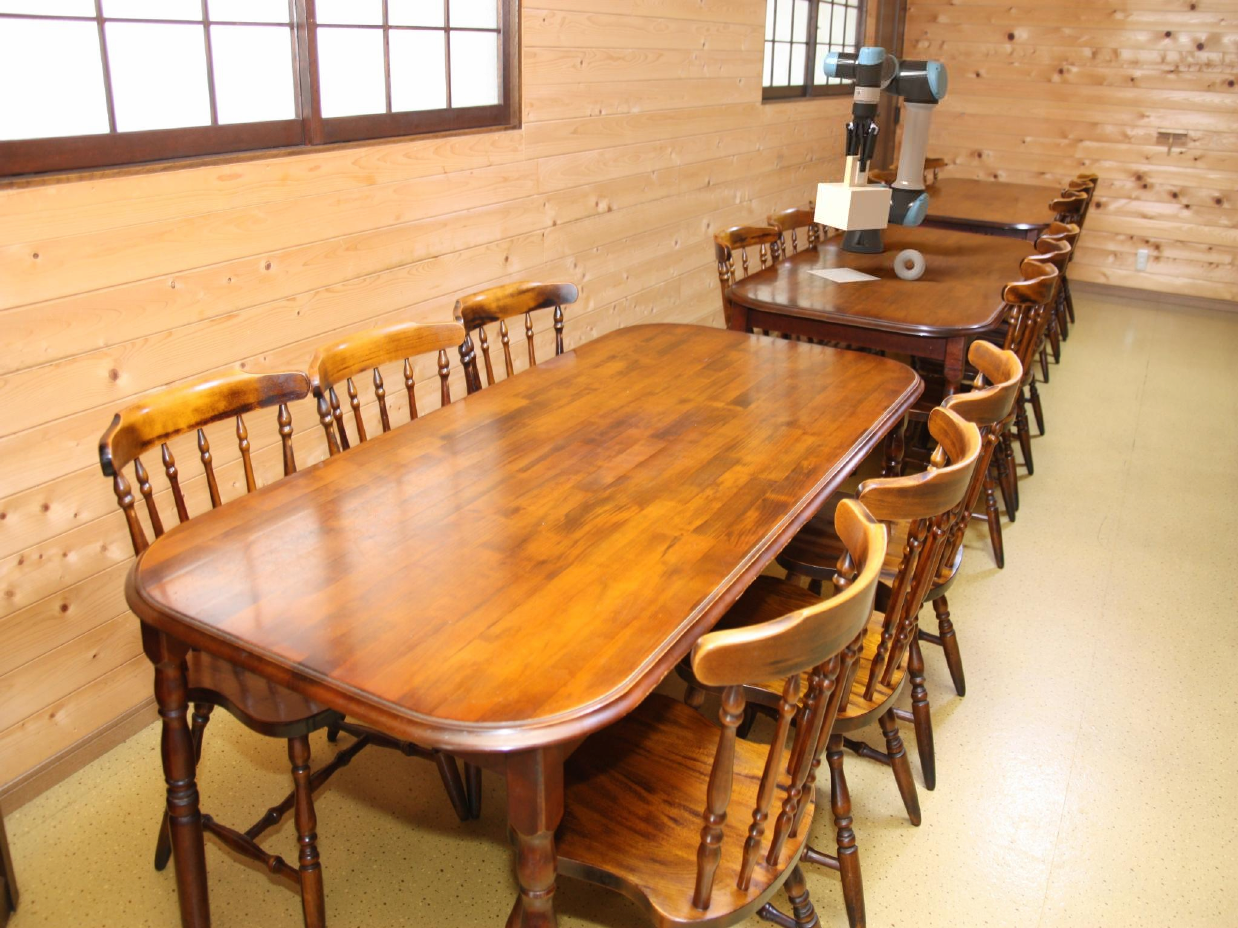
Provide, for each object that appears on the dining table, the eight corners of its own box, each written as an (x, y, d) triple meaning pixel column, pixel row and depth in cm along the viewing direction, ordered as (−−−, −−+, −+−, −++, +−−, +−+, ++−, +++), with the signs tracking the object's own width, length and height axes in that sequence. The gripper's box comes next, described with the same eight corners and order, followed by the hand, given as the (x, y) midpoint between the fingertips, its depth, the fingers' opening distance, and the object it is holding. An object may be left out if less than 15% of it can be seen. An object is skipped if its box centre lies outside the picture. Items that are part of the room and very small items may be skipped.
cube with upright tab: (813, 221, 327) (821, 153, 319) (853, 219, 334) (862, 152, 326) (846, 230, 314) (855, 159, 306) (886, 228, 321) (896, 159, 313)
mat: (805, 272, 333) (805, 270, 333) (846, 269, 341) (847, 267, 341) (839, 284, 320) (839, 282, 320) (881, 280, 327) (881, 278, 327)
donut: (890, 279, 330) (894, 247, 326) (893, 277, 333) (898, 246, 329) (920, 284, 325) (925, 252, 321) (924, 282, 328) (929, 250, 324)
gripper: (839, 100, 315) (830, 179, 324) (873, 104, 302) (862, 186, 311) (858, 100, 318) (848, 178, 327) (893, 104, 305) (881, 185, 314)
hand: (855, 182), depth 319 cm, fingers closed on cube with upright tab, 2 cm apart
